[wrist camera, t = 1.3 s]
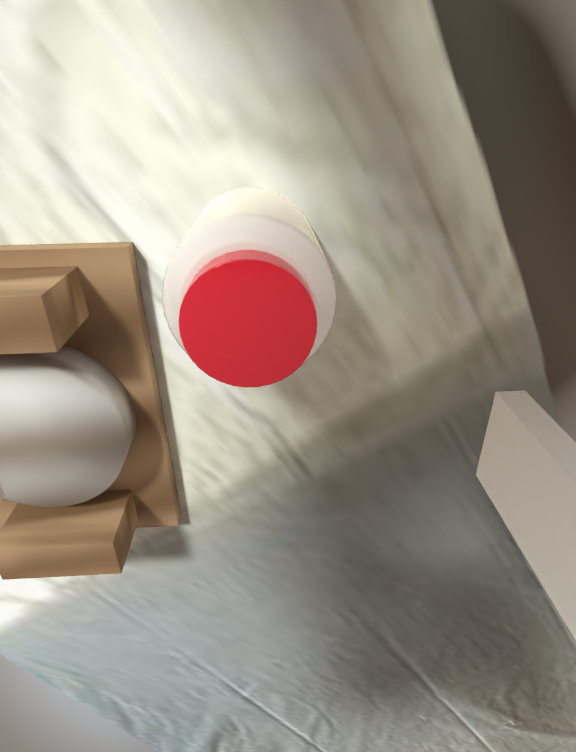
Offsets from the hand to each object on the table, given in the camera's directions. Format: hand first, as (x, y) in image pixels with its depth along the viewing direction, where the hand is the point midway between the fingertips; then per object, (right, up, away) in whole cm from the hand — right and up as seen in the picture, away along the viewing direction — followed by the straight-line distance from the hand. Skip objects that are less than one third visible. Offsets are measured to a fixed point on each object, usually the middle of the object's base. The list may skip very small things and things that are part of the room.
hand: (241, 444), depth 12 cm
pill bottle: (-1, +9, +16) cm, 18 cm away
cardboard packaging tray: (-15, 0, +20) cm, 25 cm away
